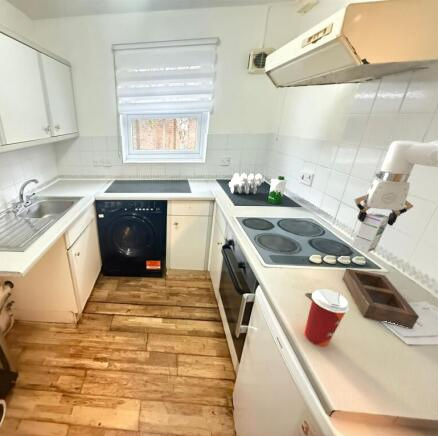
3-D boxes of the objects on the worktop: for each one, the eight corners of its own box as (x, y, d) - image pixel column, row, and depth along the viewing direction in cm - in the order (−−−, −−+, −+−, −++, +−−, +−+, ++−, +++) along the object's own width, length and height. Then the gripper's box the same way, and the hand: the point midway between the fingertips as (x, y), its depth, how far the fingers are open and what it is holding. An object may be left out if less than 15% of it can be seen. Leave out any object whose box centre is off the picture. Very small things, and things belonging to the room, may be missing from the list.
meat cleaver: (319, 295, 87) (303, 292, 88) (320, 292, 86) (304, 289, 88) (330, 317, 76) (311, 314, 78) (330, 314, 76) (312, 311, 78)
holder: (379, 285, 91) (384, 275, 90) (412, 328, 73) (419, 316, 71) (342, 278, 96) (346, 268, 94) (363, 317, 77) (369, 305, 75)
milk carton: (283, 203, 180) (289, 177, 173) (274, 205, 177) (280, 178, 169) (273, 200, 188) (278, 175, 180) (265, 201, 184) (270, 176, 177)
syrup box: (366, 253, 92) (384, 219, 86) (349, 245, 96) (364, 213, 91) (374, 250, 94) (391, 217, 88) (357, 243, 99) (372, 211, 93)
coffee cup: (337, 354, 65) (356, 312, 59) (303, 344, 68) (317, 304, 62) (327, 330, 72) (343, 291, 66) (297, 323, 75) (309, 284, 69)
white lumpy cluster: (227, 196, 211) (256, 195, 209) (232, 193, 194) (264, 192, 192) (226, 175, 212) (255, 174, 210) (232, 171, 194) (263, 169, 193)
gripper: (366, 177, 84) (350, 222, 90) (432, 182, 77) (410, 230, 84) (358, 173, 90) (343, 215, 97) (419, 177, 84) (399, 222, 91)
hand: (374, 222), depth 91 cm, fingers closed on syrup box, 8 cm apart
